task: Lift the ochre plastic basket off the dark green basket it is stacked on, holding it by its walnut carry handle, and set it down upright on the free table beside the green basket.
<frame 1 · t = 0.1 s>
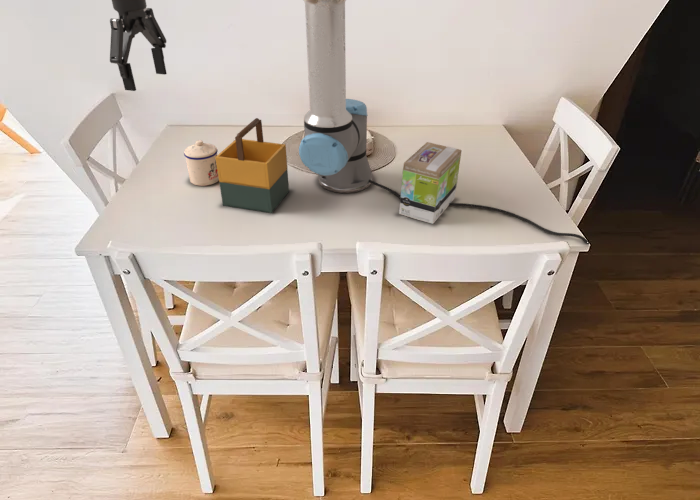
hand: (146, 81, 138), 28 cm above the table, tool pointing down, fingers open, 13 cm apart
ochre basket: (254, 175, 141), point 7 cm above the table, touching green basket
tea box: (427, 207, 141), on the table
green basket: (256, 198, 145), on the table, touching ochre basket
teacup with lid: (207, 177, 156), on the table
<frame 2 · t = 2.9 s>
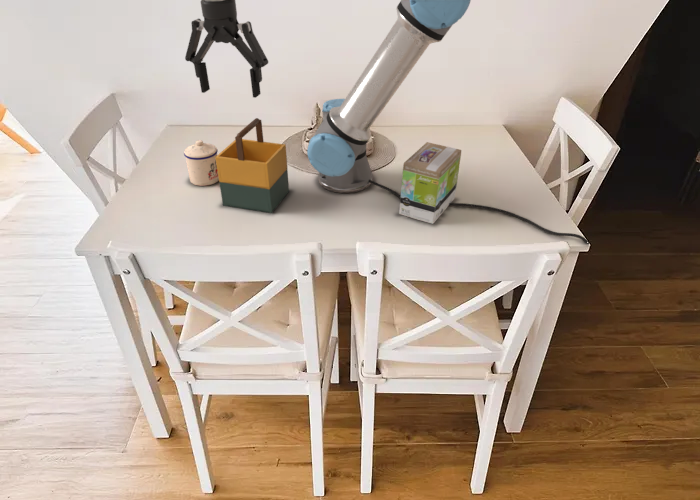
hand: (231, 93, 130), 28 cm above the table, tool pointing down, fingers open, 13 cm apart
nothing on the table moved.
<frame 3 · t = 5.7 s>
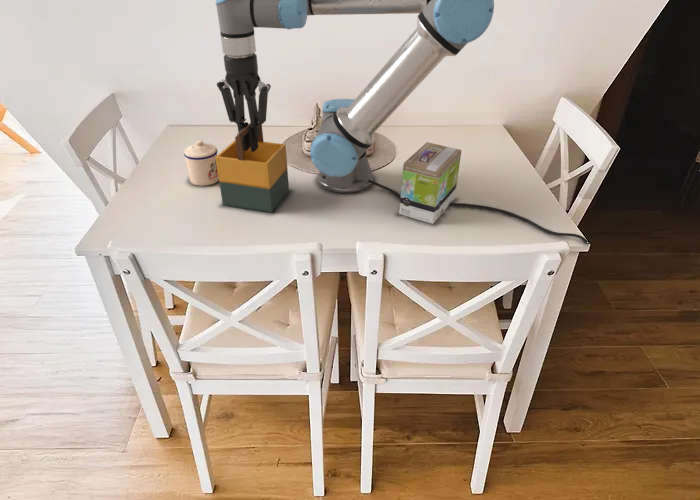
hand: (251, 148, 137), 14 cm above the table, tool pointing down, fingers closed on ochre basket
ochre basket: (254, 175, 141), point 7 cm above the table, touching green basket, gripper
everything else where it was.
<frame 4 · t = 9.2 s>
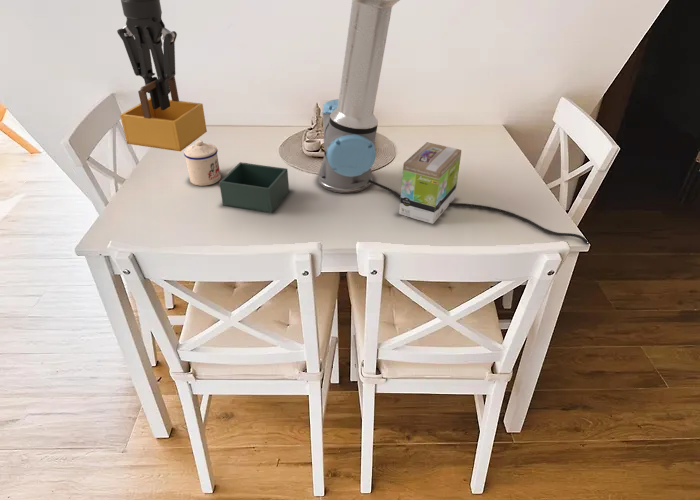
hand: (161, 107, 123), 28 cm above the table, tool pointing down, fingers closed on ochre basket
ochre basket: (167, 137, 127), point 21 cm above the table, touching gripper
green basket: (256, 198, 145), on the table
everything else where it was.
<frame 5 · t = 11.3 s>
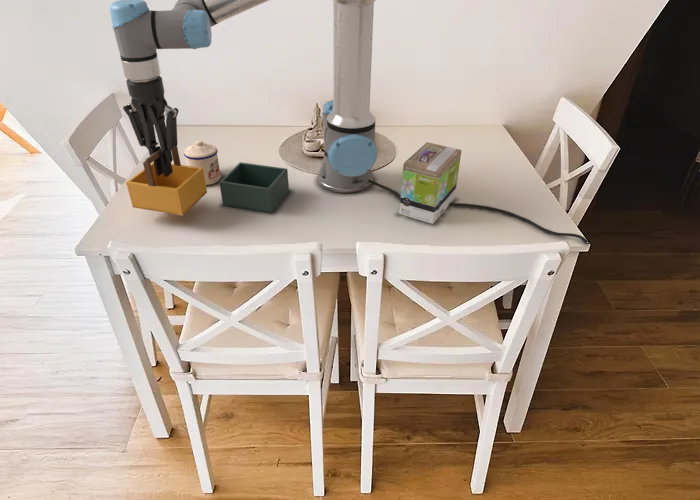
hand: (164, 173, 132), 12 cm above the table, tool pointing down, fingers closed on ochre basket
ochre basket: (170, 199, 136), point 4 cm above the table, touching gripper
everything else where it was.
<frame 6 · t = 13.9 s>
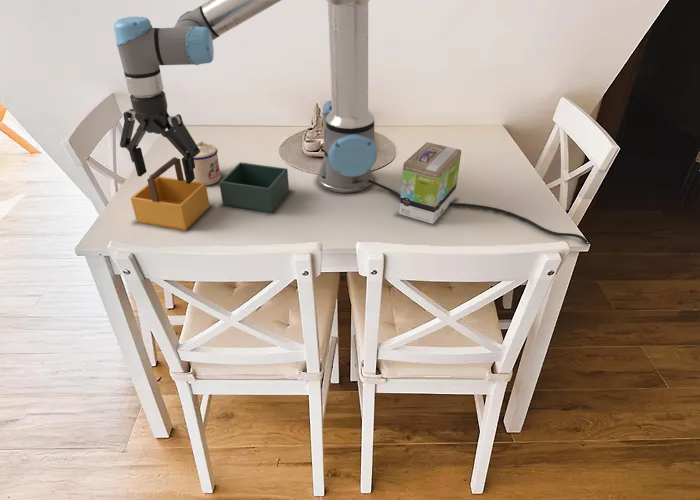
hand: (166, 177, 132), 11 cm above the table, tool pointing down, fingers open, 13 cm apart
ochre basket: (174, 214, 139), on the table
everything else where it was.
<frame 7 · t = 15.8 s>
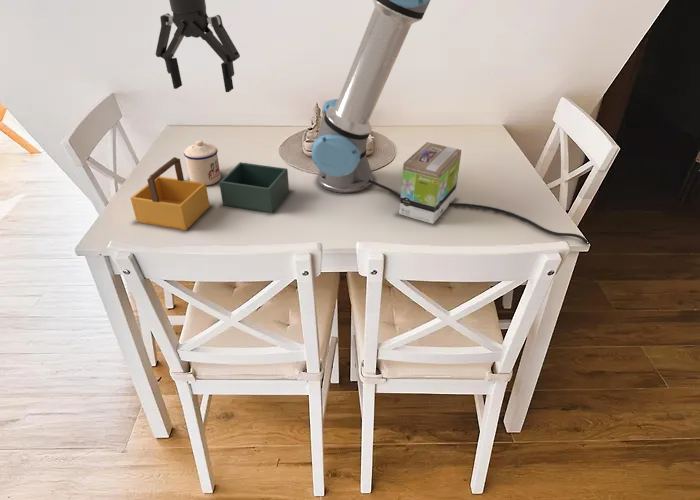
hand: (203, 88, 129), 30 cm above the table, tool pointing down, fingers open, 13 cm apart
nothing on the table moved.
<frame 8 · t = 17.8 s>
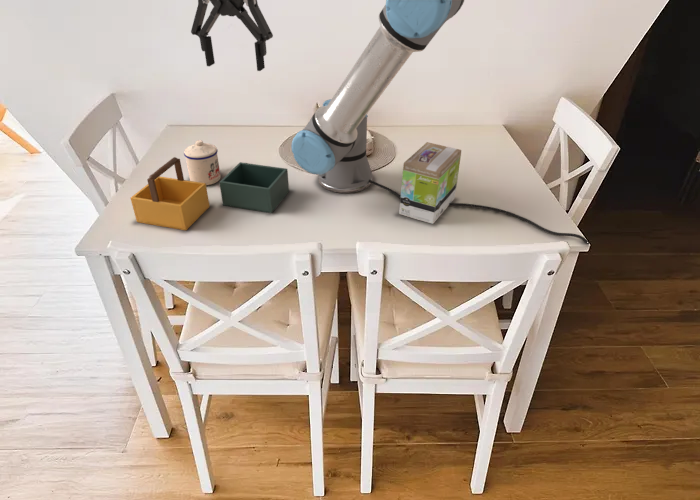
hand: (235, 67, 133), 33 cm above the table, tool pointing down, fingers open, 13 cm apart
nothing on the table moved.
at the end: ochre basket inside the target area (0.0 cm from its centre), on the table; ochre basket tilted 0°; green basket moved 0.0 cm from its start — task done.
